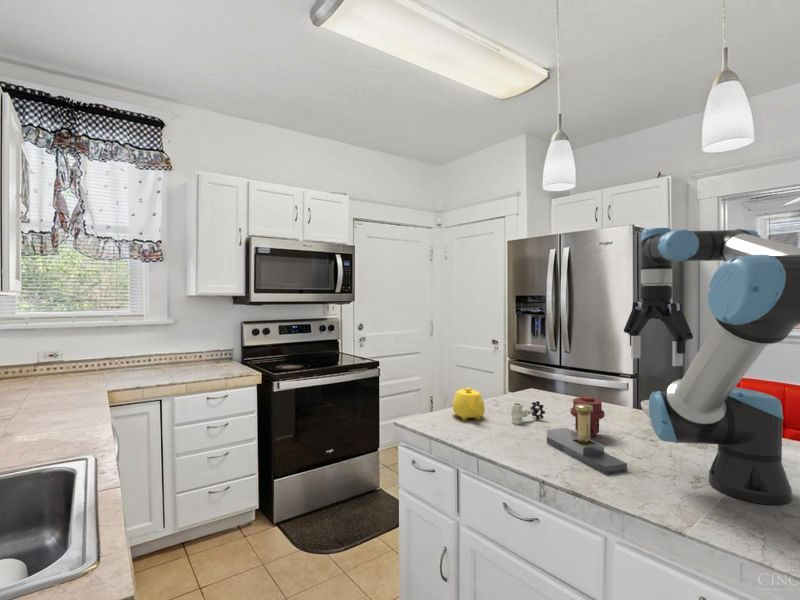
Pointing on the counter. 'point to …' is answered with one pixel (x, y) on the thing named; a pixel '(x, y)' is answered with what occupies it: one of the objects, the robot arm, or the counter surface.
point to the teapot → (468, 404)
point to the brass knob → (584, 423)
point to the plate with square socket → (585, 451)
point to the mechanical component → (594, 415)
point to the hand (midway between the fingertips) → (655, 361)
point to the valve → (525, 412)
